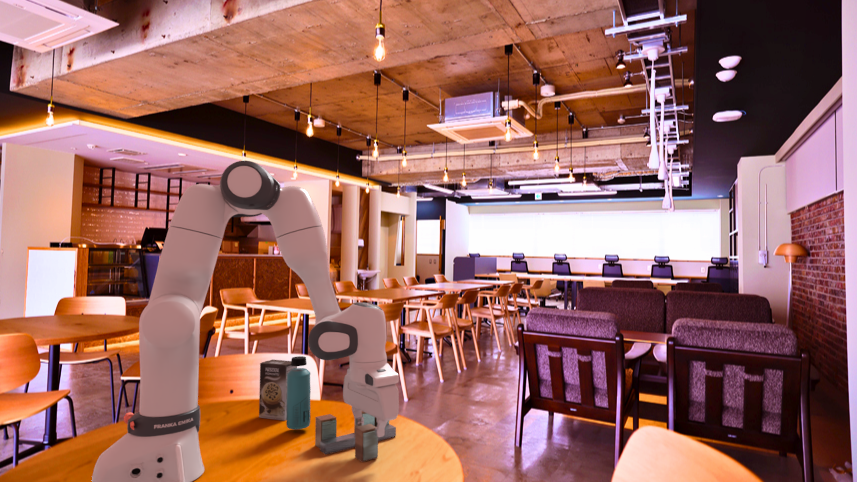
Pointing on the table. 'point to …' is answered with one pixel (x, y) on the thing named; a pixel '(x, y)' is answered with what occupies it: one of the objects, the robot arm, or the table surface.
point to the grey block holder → (331, 443)
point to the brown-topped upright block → (366, 443)
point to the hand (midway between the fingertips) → (369, 430)
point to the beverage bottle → (298, 395)
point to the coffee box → (274, 389)
